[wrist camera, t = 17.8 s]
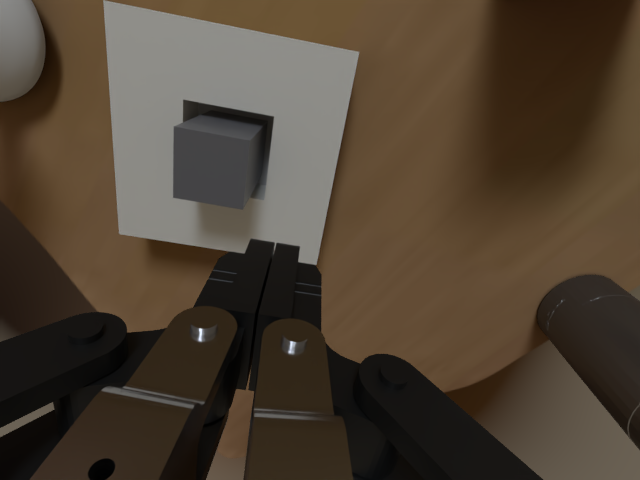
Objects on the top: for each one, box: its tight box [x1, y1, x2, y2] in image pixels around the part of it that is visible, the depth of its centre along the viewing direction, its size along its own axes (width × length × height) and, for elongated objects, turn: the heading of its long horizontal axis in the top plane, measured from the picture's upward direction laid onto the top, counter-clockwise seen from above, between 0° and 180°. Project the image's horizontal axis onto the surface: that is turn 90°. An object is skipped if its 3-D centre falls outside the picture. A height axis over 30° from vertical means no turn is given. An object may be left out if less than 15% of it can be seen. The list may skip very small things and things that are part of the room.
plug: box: [173, 110, 268, 210], centre depth 29 cm, size 5×5×9 cm
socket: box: [103, 0, 359, 265], centre depth 32 cm, size 18×18×5 cm
